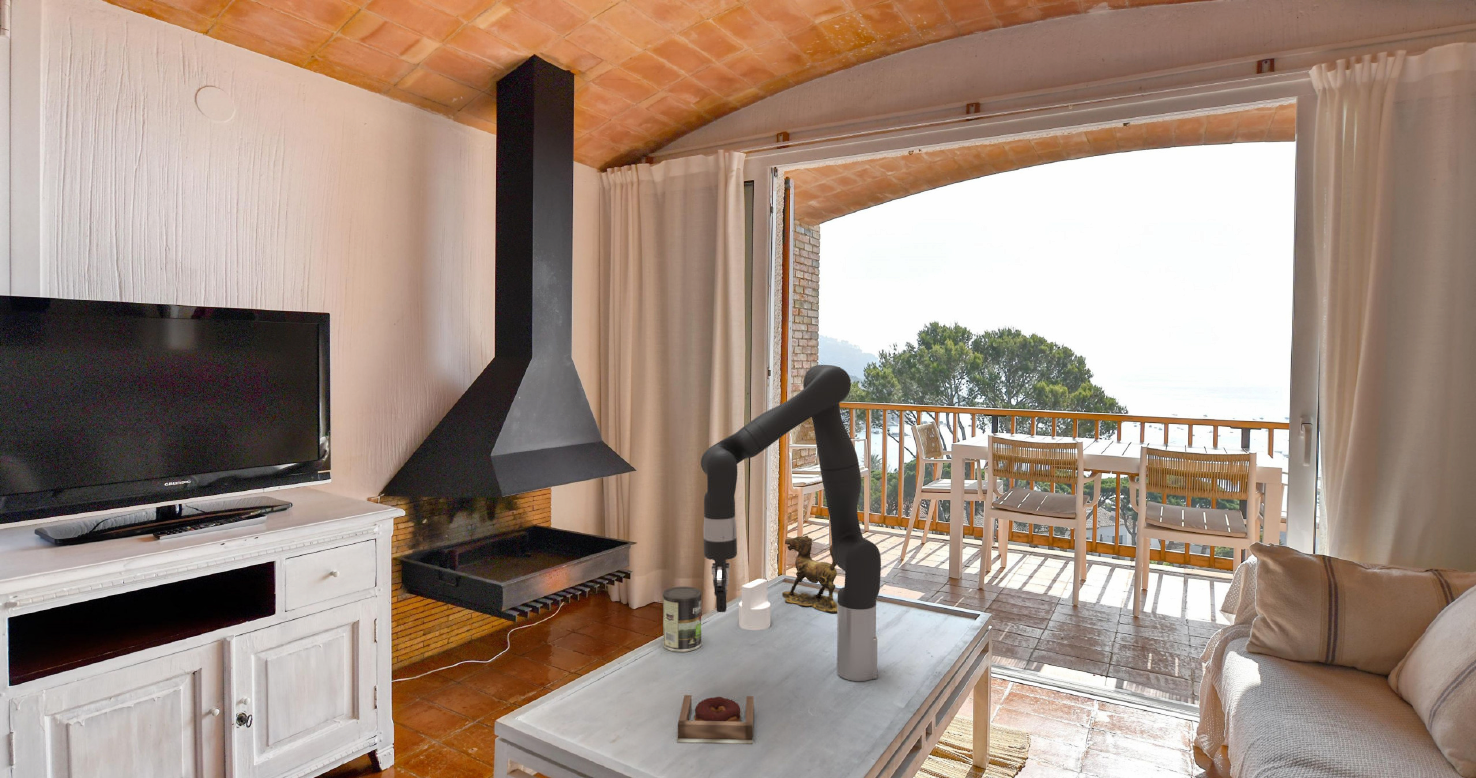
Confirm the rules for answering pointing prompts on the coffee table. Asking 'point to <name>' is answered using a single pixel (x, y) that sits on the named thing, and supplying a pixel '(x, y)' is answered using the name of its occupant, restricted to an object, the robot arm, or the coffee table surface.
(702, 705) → the donut
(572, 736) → the coffee table surface
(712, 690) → the coffee table surface
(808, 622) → the coffee table surface
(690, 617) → the coffee can
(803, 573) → the figurine
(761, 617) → the base with upright slab
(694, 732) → the walnut pocket
